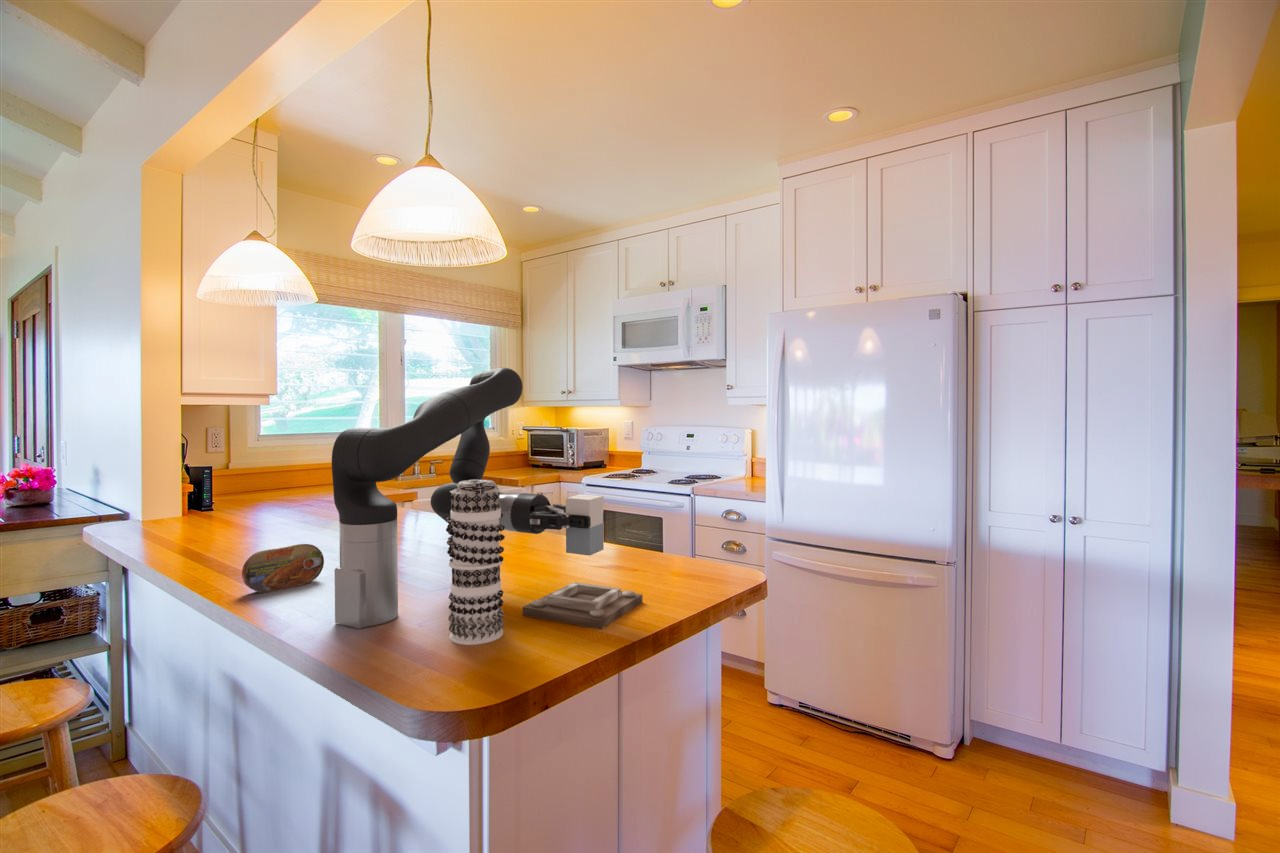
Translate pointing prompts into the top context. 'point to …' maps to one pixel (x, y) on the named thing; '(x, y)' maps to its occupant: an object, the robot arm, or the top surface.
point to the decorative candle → (475, 563)
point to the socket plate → (584, 605)
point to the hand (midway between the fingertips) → (597, 519)
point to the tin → (282, 567)
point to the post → (584, 538)
